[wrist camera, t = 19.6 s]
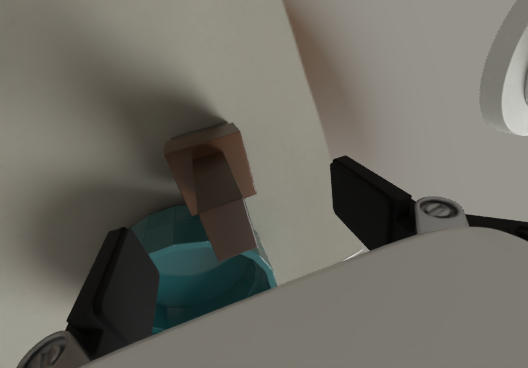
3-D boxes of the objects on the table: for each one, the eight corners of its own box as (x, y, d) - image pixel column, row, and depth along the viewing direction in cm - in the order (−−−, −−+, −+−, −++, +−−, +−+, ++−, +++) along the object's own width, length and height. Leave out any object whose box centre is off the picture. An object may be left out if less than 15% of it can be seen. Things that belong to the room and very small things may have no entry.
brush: (229, 118, 18) (270, 167, 10) (244, 172, 21) (288, 250, 12) (166, 136, 17) (152, 206, 9) (190, 190, 20) (196, 286, 11)
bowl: (240, 180, 21) (257, 214, 16) (270, 279, 28) (287, 323, 23) (76, 234, 19) (41, 292, 14) (152, 327, 26) (145, 387, 21)
